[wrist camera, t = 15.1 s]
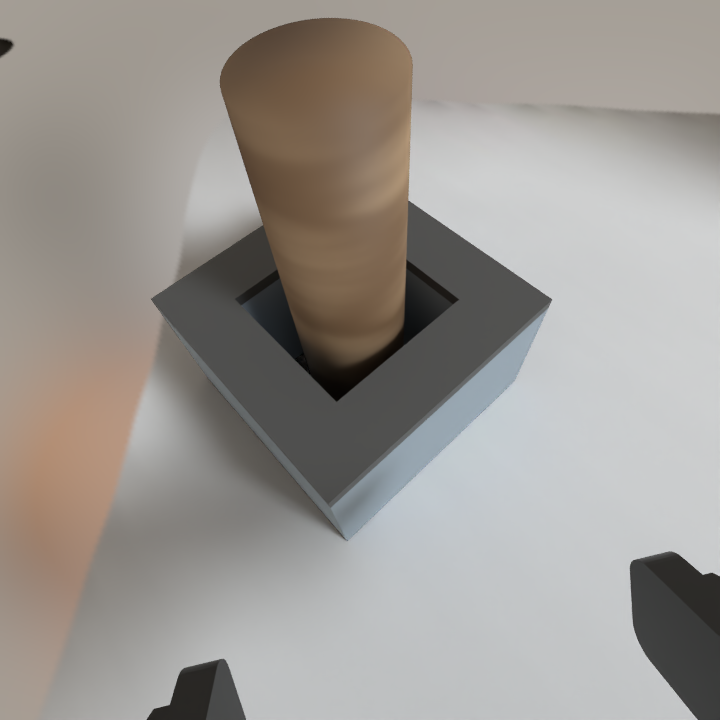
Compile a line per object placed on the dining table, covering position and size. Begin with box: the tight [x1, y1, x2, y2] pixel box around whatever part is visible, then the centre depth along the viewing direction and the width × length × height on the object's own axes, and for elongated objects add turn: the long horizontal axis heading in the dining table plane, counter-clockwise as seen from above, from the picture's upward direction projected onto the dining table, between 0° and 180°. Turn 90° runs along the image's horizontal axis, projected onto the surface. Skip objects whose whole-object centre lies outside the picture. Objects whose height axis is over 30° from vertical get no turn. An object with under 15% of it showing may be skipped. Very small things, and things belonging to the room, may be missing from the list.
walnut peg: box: [220, 18, 413, 402], centre depth 16 cm, size 4×4×14 cm
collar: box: [151, 201, 552, 541], centre depth 20 cm, size 10×10×6 cm
